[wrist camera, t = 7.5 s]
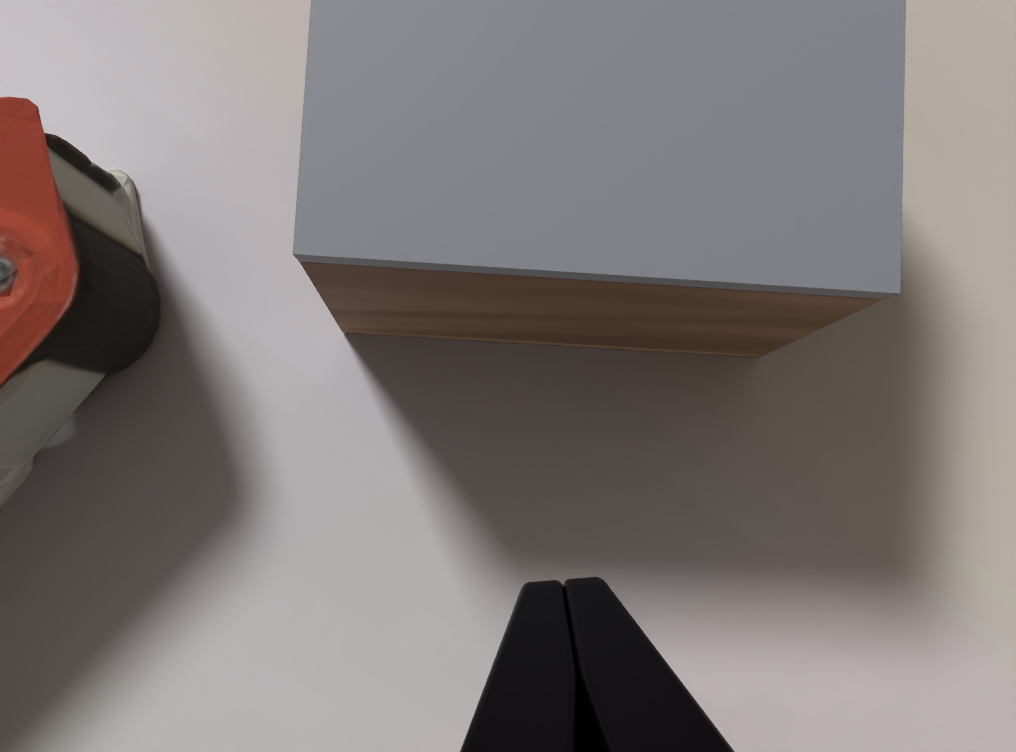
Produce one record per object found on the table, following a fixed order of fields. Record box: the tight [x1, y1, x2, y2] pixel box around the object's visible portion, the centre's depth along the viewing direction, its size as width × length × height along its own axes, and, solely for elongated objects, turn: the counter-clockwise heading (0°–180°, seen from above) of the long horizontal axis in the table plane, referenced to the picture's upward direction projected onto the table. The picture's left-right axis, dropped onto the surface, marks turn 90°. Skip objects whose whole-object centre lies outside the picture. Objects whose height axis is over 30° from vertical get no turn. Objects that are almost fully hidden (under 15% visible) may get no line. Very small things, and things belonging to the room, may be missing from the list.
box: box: [300, 262, 881, 357], centre depth 18 cm, size 8×10×6 cm
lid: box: [293, 0, 906, 299], centre depth 15 cm, size 8×10×1 cm
